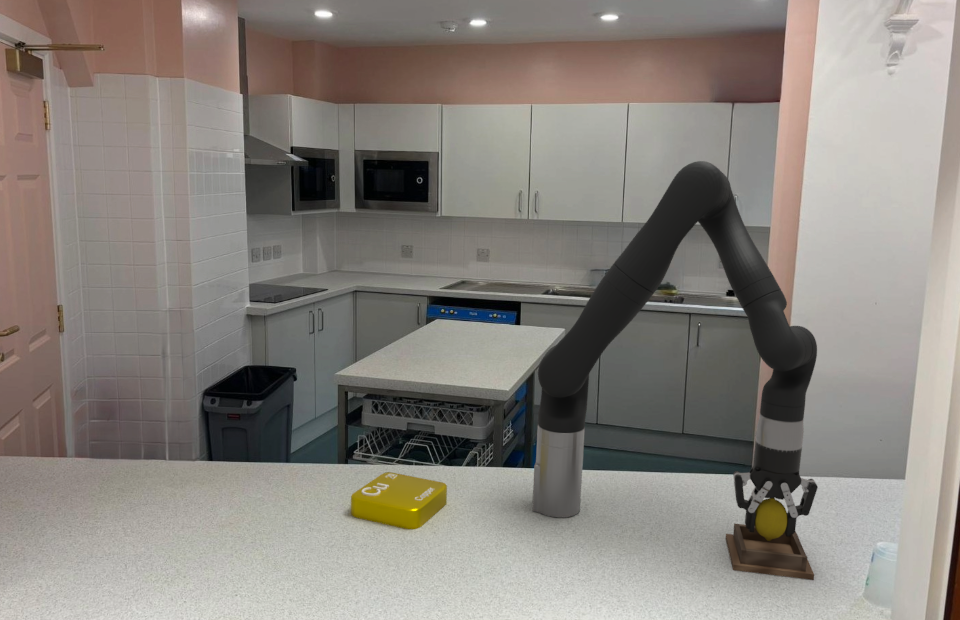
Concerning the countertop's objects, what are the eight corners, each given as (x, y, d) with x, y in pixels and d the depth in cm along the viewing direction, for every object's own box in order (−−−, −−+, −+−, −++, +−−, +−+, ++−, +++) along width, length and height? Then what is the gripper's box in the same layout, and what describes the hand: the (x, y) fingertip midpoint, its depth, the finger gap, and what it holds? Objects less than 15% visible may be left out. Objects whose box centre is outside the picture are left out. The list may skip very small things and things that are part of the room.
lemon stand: (733, 570, 132) (734, 551, 131) (725, 538, 144) (727, 521, 143) (813, 580, 130) (815, 560, 129) (799, 547, 141) (801, 529, 141)
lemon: (787, 549, 133) (792, 506, 132) (754, 545, 134) (758, 502, 133) (782, 535, 138) (786, 493, 137) (749, 531, 139) (753, 489, 138)
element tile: (416, 533, 143) (416, 509, 142) (346, 517, 149) (346, 494, 148) (450, 503, 157) (450, 480, 156) (385, 489, 162) (385, 468, 161)
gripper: (738, 444, 131) (729, 537, 134) (828, 452, 128) (817, 547, 131) (732, 430, 138) (724, 519, 141) (818, 438, 135) (807, 528, 138)
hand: (769, 532), depth 136 cm, fingers closed on lemon, 5 cm apart
